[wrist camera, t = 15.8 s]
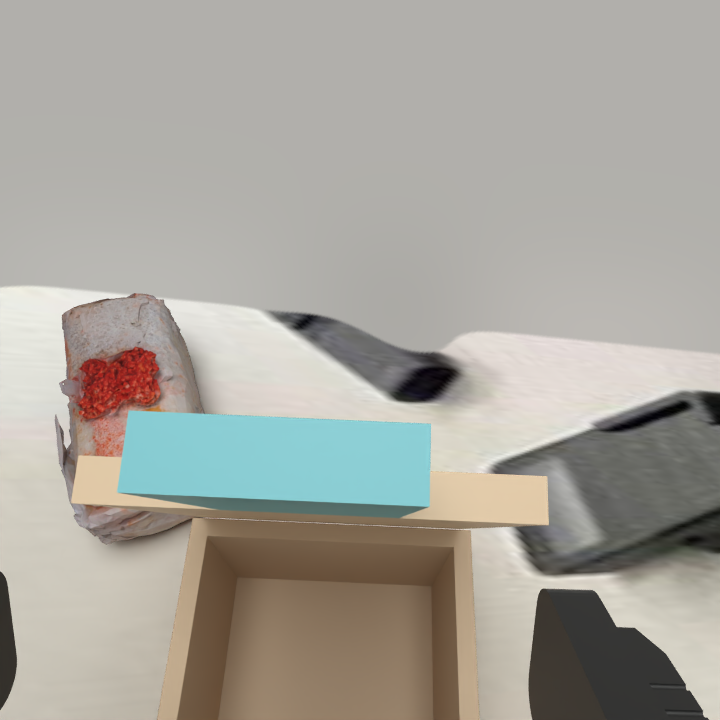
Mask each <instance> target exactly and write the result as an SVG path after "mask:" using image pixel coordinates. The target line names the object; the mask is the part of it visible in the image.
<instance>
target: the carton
mask: <svg viewBox="0 0 720 720" xmlns="http://www.w3.org/2000/svg"><path fill="white" fill-rule="evenodd" d="M157 720H479V700H478V679H477V658H476V637H475V615H474V594H473V573H472V552H471V531H470V530H448V529H426V528H404V527H382V526H360V525H339V524H317V523H295V522H273V521H251V520H229V519H207V518H193V520H192V525H191V531H190V537H189V542H188V548H187V554H186V559H185V565H184V570H183V576H182V582H181V587H180V593H179V598H178V604H177V610H176V615H175V621H174V627H173V632H172V638H171V643H170V649H169V655H168V660H167V666H166V671H165V677H164V683H163V688H162V694H161V700H160V705H159V711H158V716H157Z"/></svg>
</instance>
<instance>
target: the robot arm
mask: <svg viewBox="0 0 720 720" xmlns="http://www.w3.org/2000/svg"><path fill="white" fill-rule="evenodd" d="M16 667H17V655H16V647H15V640H14V632H13V624H12V616H11V608H10V601H9V593H8V585H7V581H6V578H5V576H4V575H3V573H2V572H0V710H1V708H2V707H3V705H4V704H5V702H6V700H7V698H8V696H9V694H10V691H11V689H12V686H13V682H14V679H15V674H16ZM529 701H530V709H531V715H532V720H709V719H708V718H705V717H704V716H703V710H702V709H701V707H700V706H699V704H698V703H697V701H696V699H695V698H694V696H693V695H692V693H691V692H690V691H687V690H686V684H685V683H684V681H683V680H682V678H681V676H680V675H679V673H678V672H677V670H676V669H675V667H674V666H673V664H672V663H671V661H670V660H669V658H668V657H667V655H666V654H665V653H664V652H663V651H662V650H661V649H659V648H658V647H657V646H656V645H655V644H653V643H652V642H651V641H650V640H649V639H647V638H646V637H645V636H644V635H642V634H641V633H640V632H639V631H638V630H636V629H635V628H623V627H616V625H615V623H614V622H613V620H612V618H611V617H610V615H609V613H608V611H607V610H606V608H605V606H604V604H603V603H602V601H601V599H600V598H599V596H598V595H597V593H596V592H595V591H593V590H568V589H542V590H541V591H540V593H539V595H538V600H537V607H536V616H535V625H534V634H533V643H532V652H531V661H530V670H529Z"/></svg>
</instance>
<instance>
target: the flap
mask: <svg viewBox="0 0 720 720" xmlns="http://www.w3.org/2000/svg"><path fill="white" fill-rule="evenodd" d="M430 449H431V424H422V423H400V422H377V421H355V420H332V419H309V418H287V417H264V416H242V415H219V414H197V413H174V412H152V411H129V412H128V419H127V426H126V433H125V440H124V446H123V453H122V457H104V456H82V455H79V456H78V462H77V468H76V474H75V480H74V486H73V493H72V499H71V503H73V504H83V505H92V506H102V507H111V508H121V509H130V510H140V511H149V512H159V513H168V514H178V515H188V516H197V517H212V518H234V519H255V520H277V521H299V522H321V523H343V524H365V525H387V526H409V527H431V528H453V529H469V528H491V527H514V526H537V525H549V519H548V489H547V476H527V475H505V474H483V473H460V472H438V471H430Z"/></svg>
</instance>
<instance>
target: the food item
mask: <svg viewBox="0 0 720 720" xmlns="http://www.w3.org/2000/svg"><path fill="white" fill-rule="evenodd" d="M62 329H63V330H64V339H65V351H66V362H67V370H66V376H67V379H66V380H64V381H62V382H60V383H59V384H60V387H61V390H62V393H63V394H65V395H67V396H68V397H69V400H70V402H69V403H68V408H69V414H70V429H69V432H70V437H71V444H70V445H69V447H68V448H67V450H66V448H65V446H64V444H63V441H64V433H63V430H62V428H61V426H60V425H59V422H58V419H57V416H56V415H55V425H56V432H57V446H58V453H59V464H60V466H61V468H62V470H61V471H62V473H63V475H64V477H65V480H66V485H67V490H68V496H69V501H70V503H71V499H72V493H73V486H74V480H75V474H76V468H77V462H78V456H79V455H82V456H104V457H122V453H123V446H124V440H125V433H126V426H127V419H128V412H129V411H152V412H174V413H197V414H204V411H203V410H202V407H201V404H200V397H199V393H198V389H197V385H196V383H195V377H194V372H193V367H192V364H191V360H190V356H189V353H188V350H187V346H186V343H185V341H184V339H183V337H182V335H181V333H180V329H179V327H178V326H177V325H176V322H175V321H174V318H173V317H172V315H171V313H170V310H169V309H168V308H167V307H166V306H165V305H164V300H158V299H156V298H155V297H154V296H151V295H147V294H135V293H134V294H132V295H130V296H129V297H127V298H116V299H103V300H99V301H95V302H92V303H88V304H83V305H80V306H77V307H74V308H72V309H70V310H68V311H67V312H65V313H64V314H63V315H62ZM63 383H64V385H62V384H63ZM71 505H72V507H73V509H74V511H75V512H76V514H75V515H74V517H75V520H76V521H77V523H78V524H79V526H81V527H83V528H86V529H87V530H88V531H89V532H90V533H92V534H93V535H94V536H96V535H97V536H98V537H99V539H100V540H101V542H102V543H105V544H110V543H112V542H114V541H120V540H127V539H133V538H135V537H138V536H145V535H151V534H154V533H158V532H161V531H164V530H167V529H170V528H171V527H173V526H175V525H177V524H179V523H181V522H184V521H186V520H188V519H191V518H195V517H197V516H188V515H178V514H168V513H159V512H149V511H140V510H130V509H121V508H111V507H102V506H92V505H83V504H73V503H71Z"/></svg>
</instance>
